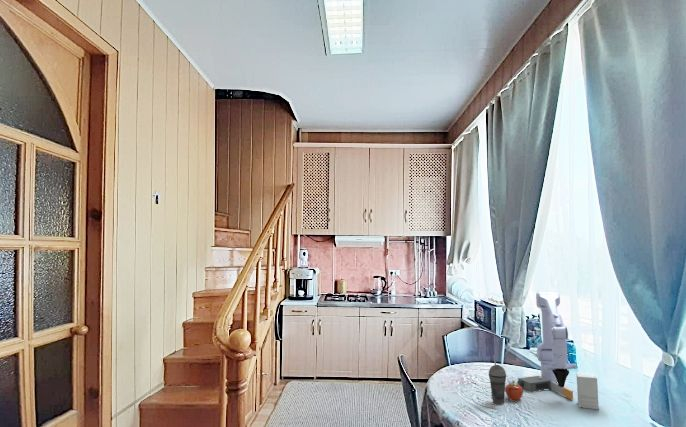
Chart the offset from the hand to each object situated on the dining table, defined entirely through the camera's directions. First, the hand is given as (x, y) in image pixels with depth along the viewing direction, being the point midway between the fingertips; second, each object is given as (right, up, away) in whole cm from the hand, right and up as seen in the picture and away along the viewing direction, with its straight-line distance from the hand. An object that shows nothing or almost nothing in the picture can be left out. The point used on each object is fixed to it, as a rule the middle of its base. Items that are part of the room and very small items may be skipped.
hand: (561, 386), depth 195 cm
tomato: (-20, -6, +1) cm, 21 cm away
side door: (+3, -6, +6) cm, 9 cm away
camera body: (-5, -7, +15) cm, 17 cm away
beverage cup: (-28, -6, -3) cm, 29 cm away
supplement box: (+7, -5, -8) cm, 12 cm away
